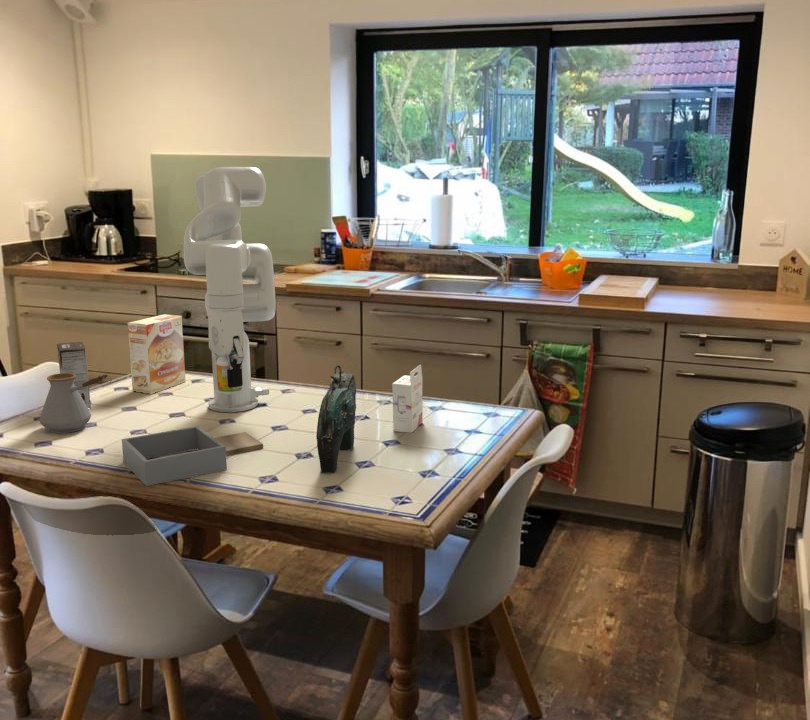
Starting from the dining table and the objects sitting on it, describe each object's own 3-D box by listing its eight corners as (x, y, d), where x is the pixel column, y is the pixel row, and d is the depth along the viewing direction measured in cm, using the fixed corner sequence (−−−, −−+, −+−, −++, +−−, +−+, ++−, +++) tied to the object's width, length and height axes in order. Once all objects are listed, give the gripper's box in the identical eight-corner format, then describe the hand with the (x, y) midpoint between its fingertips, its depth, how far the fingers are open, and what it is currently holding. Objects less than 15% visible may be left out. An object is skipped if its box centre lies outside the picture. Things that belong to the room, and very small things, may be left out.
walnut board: (245, 436, 196) (245, 432, 195) (263, 448, 187) (262, 443, 187) (203, 443, 190) (203, 439, 190) (220, 456, 182) (219, 452, 182)
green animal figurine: (336, 442, 191) (334, 356, 187) (364, 444, 190) (362, 357, 185) (311, 473, 172) (309, 378, 167) (342, 475, 171) (340, 379, 166)
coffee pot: (29, 431, 200) (23, 369, 196) (69, 418, 210) (63, 359, 206) (93, 445, 190) (87, 380, 186) (132, 431, 200) (127, 369, 196)
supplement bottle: (220, 388, 188) (218, 345, 186) (244, 388, 189) (242, 345, 186) (215, 395, 183) (213, 351, 181) (240, 394, 183) (238, 350, 181)
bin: (199, 447, 188) (197, 425, 187) (226, 469, 174) (225, 446, 173) (123, 461, 179) (121, 439, 178) (146, 486, 166) (144, 462, 165)
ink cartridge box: (403, 421, 207) (403, 362, 203) (423, 423, 205) (423, 363, 202) (391, 431, 199) (391, 370, 195) (411, 433, 197) (411, 372, 194)
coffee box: (62, 402, 223) (56, 343, 220) (88, 400, 226) (82, 340, 222) (64, 411, 215) (58, 350, 212) (91, 408, 218) (85, 347, 214)
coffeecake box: (151, 394, 231) (146, 324, 226) (131, 391, 234) (125, 322, 229) (187, 381, 244) (182, 315, 240) (167, 379, 247) (162, 313, 243)
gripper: (195, 298, 186) (199, 378, 191) (223, 309, 172) (228, 394, 177) (227, 295, 190) (231, 373, 195) (257, 305, 176) (261, 389, 180)
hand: (229, 382), depth 185 cm, fingers closed on supplement bottle, 5 cm apart
